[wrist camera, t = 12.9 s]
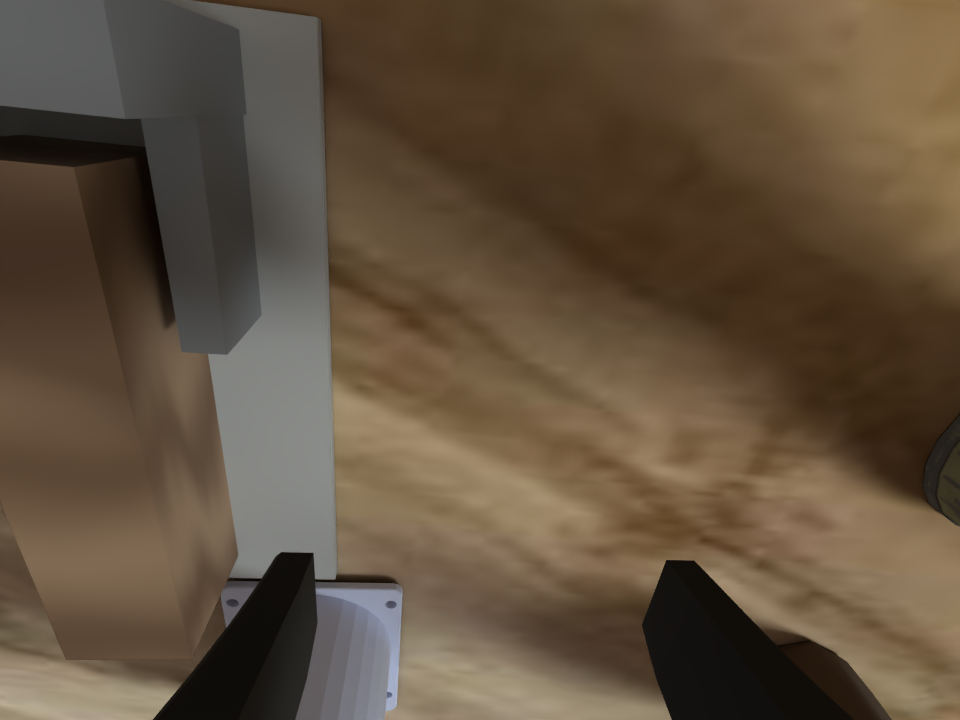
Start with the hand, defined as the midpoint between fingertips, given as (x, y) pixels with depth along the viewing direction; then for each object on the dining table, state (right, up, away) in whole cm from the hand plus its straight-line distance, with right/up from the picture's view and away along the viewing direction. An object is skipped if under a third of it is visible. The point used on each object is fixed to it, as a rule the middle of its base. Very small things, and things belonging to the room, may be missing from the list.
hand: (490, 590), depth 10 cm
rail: (-12, +4, +7) cm, 14 cm away
